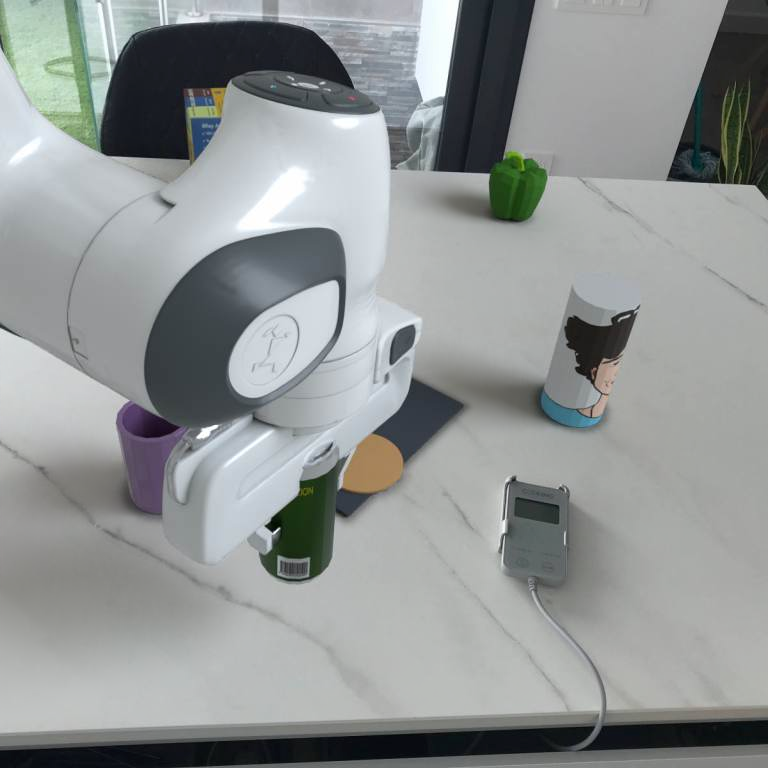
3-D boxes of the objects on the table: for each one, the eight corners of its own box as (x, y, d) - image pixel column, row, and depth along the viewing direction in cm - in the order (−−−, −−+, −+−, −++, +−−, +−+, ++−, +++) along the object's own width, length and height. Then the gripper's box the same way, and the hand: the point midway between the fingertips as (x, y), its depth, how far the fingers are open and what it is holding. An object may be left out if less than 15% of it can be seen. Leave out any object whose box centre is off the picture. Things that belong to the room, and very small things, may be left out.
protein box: (191, 192, 116) (181, 87, 106) (293, 187, 120) (293, 85, 110) (197, 226, 108) (187, 116, 98) (306, 219, 112) (307, 113, 102)
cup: (588, 436, 81) (628, 319, 71) (530, 409, 84) (561, 292, 74) (611, 403, 85) (652, 288, 76) (555, 378, 88) (588, 264, 78)
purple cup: (162, 525, 68) (150, 453, 62) (116, 491, 70) (100, 418, 65) (214, 485, 72) (207, 413, 66) (168, 454, 74) (158, 382, 69)
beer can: (336, 584, 56) (346, 466, 48) (261, 592, 55) (259, 472, 47) (327, 526, 60) (334, 409, 52) (256, 533, 59) (253, 414, 51)
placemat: (356, 523, 70) (356, 518, 69) (199, 423, 78) (199, 418, 78) (471, 411, 83) (472, 406, 82) (326, 335, 91) (326, 331, 90)
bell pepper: (538, 205, 121) (551, 143, 115) (538, 230, 115) (553, 166, 109) (484, 198, 122) (495, 136, 115) (482, 222, 115) (493, 158, 109)
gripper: (208, 480, 37) (221, 642, 46) (438, 309, 51) (414, 459, 60) (122, 422, 40) (149, 585, 49) (362, 274, 54) (350, 423, 62)
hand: (297, 515), depth 54 cm, fingers closed on beer can, 5 cm apart
